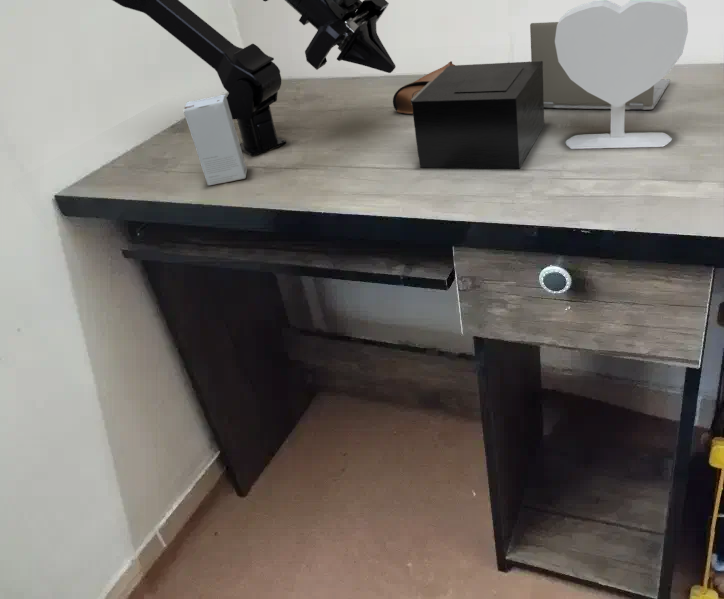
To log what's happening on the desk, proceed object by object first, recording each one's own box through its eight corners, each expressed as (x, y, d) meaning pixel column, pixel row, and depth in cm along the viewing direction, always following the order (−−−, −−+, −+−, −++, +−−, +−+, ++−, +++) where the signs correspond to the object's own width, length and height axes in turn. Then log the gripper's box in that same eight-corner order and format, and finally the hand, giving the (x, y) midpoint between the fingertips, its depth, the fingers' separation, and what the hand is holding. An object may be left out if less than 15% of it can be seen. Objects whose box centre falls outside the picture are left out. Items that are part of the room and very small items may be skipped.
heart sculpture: (679, 132, 97) (689, -10, 88) (679, 146, 93) (690, -1, 84) (560, 135, 103) (558, 2, 94) (556, 149, 99) (553, 11, 90)
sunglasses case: (434, 113, 118) (413, 77, 117) (407, 131, 124) (386, 97, 123) (489, 79, 129) (470, 46, 128) (462, 97, 135) (443, 65, 134)
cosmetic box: (247, 169, 112) (227, 92, 106) (246, 180, 108) (225, 101, 102) (208, 176, 112) (186, 100, 106) (205, 187, 108) (182, 109, 102)
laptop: (670, 83, 114) (676, -4, 107) (652, 111, 105) (657, 18, 98) (557, 83, 123) (556, 2, 116) (532, 109, 114) (529, 23, 107)
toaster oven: (414, 167, 102) (405, 101, 97) (448, 126, 114) (442, 65, 109) (519, 169, 95) (515, 97, 90) (544, 125, 107) (542, 60, 102)
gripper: (307, -40, 90) (401, 45, 91) (366, -65, 104) (447, 9, 105) (268, 30, 97) (356, 107, 99) (327, -2, 111) (403, 66, 112)
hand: (393, 70), depth 103 cm, fingers closed
